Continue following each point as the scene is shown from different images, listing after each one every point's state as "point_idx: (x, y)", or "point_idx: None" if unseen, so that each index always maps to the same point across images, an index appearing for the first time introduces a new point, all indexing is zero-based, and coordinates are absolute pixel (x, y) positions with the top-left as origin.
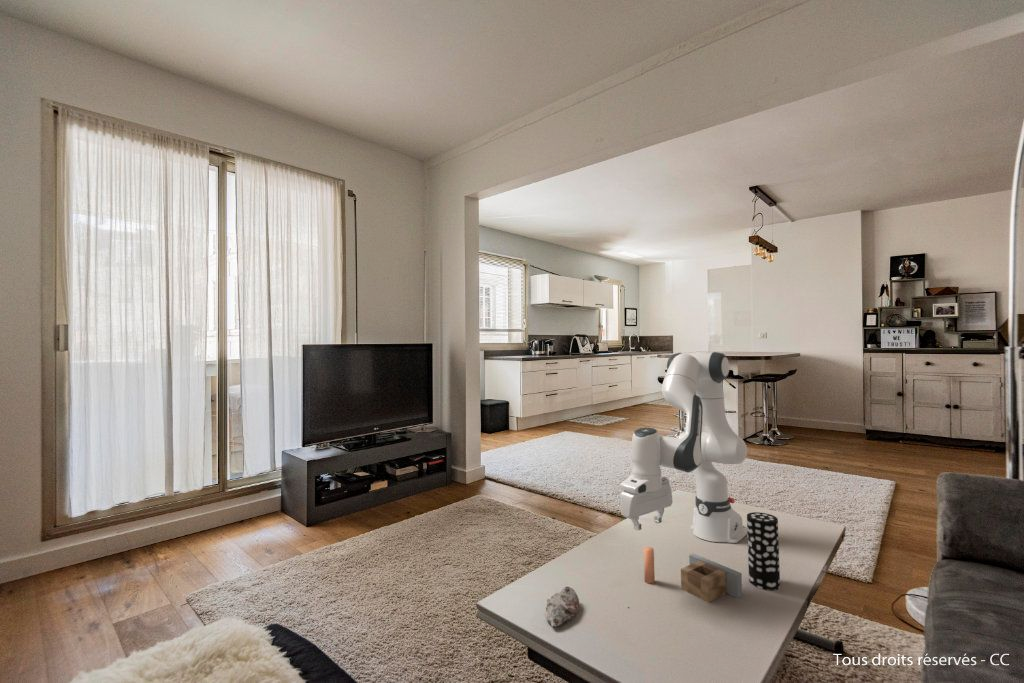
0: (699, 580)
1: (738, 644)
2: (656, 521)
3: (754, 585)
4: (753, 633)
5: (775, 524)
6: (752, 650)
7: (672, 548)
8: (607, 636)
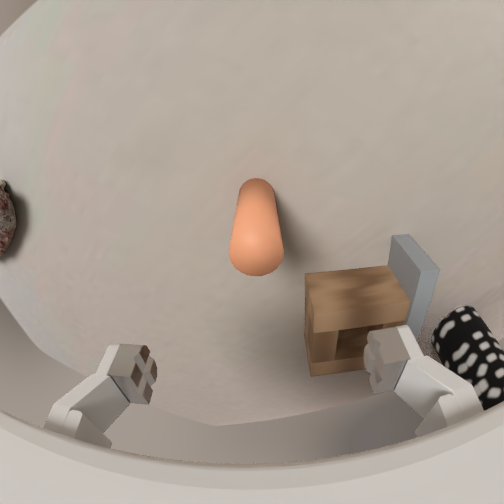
0: (310, 354)
1: (234, 403)
2: (371, 349)
3: (435, 330)
4: (280, 400)
5: None
6: (241, 412)
7: (489, 92)
8: (49, 308)
